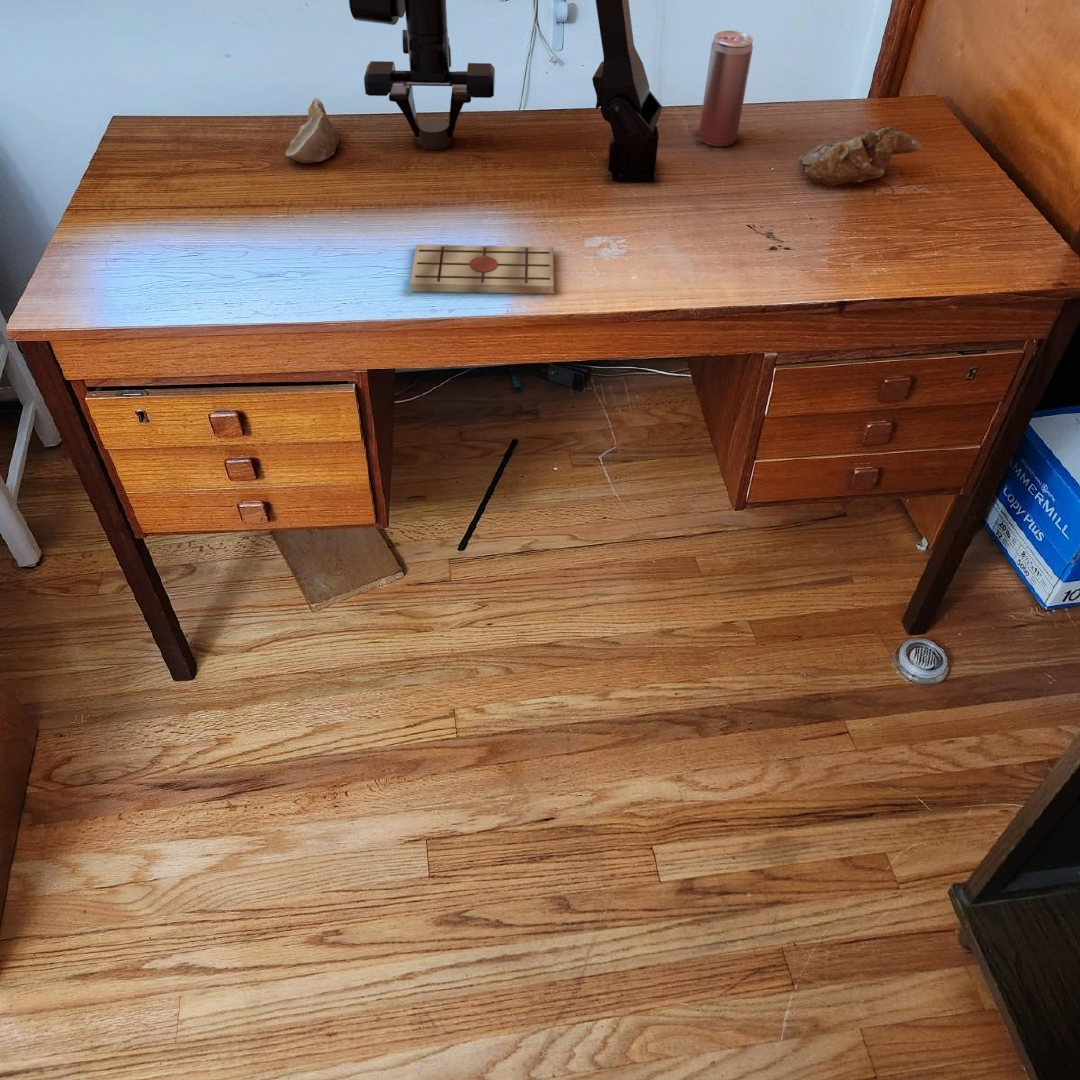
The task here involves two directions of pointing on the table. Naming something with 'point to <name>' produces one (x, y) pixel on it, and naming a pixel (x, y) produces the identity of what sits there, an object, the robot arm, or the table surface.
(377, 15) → the robot arm
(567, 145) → the table surface
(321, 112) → the stone
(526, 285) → the board
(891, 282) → the table surface
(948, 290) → the table surface
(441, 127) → the dark brown cylinder
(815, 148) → the mineral specimen
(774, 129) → the table surface
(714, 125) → the beverage can
